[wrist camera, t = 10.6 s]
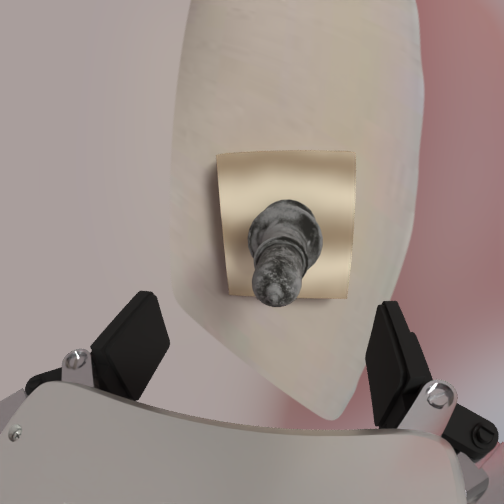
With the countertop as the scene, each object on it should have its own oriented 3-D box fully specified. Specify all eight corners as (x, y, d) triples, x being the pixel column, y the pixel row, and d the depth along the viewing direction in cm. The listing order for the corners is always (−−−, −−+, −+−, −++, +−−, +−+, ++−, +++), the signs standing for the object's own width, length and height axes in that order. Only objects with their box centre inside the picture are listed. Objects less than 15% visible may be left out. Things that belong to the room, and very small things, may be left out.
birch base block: (225, 153, 26) (216, 154, 23) (349, 151, 23) (355, 152, 21) (235, 281, 31) (229, 295, 28) (343, 284, 29) (346, 298, 26)
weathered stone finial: (247, 245, 26) (205, 323, 15) (266, 186, 23) (232, 228, 12) (306, 267, 25) (303, 357, 15) (330, 210, 23) (352, 272, 12)
